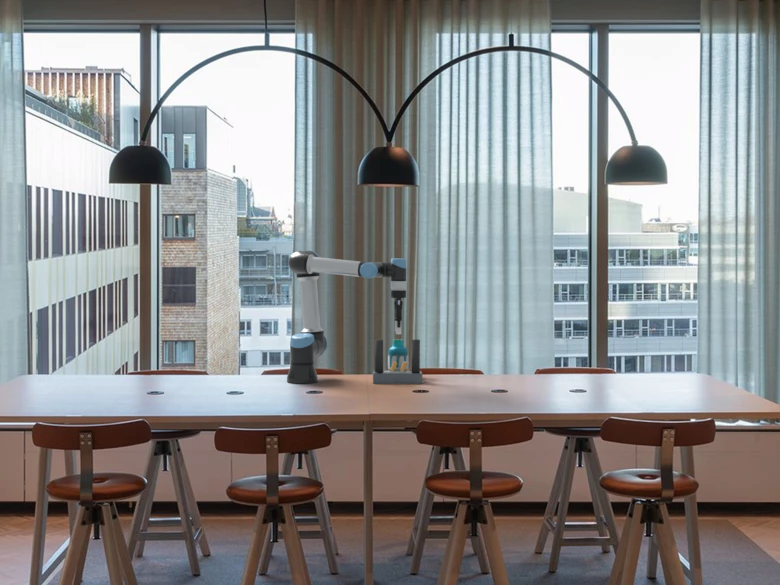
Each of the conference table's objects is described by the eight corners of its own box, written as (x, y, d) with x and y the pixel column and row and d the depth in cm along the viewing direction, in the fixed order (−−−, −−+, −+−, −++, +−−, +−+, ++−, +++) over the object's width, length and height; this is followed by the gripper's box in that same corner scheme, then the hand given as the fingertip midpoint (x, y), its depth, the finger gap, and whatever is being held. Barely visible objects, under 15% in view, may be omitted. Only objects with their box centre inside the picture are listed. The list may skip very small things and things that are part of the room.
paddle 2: (400, 369, 466) (404, 361, 466) (400, 369, 469) (404, 361, 469) (403, 371, 466) (407, 363, 466) (403, 370, 469) (407, 362, 469)
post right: (411, 372, 466) (411, 340, 465) (411, 371, 470) (411, 339, 469) (419, 372, 466) (420, 340, 465) (419, 371, 470) (419, 339, 469)
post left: (375, 372, 465) (375, 340, 464) (375, 371, 469) (374, 339, 468) (383, 372, 465) (383, 340, 465) (383, 371, 469) (383, 339, 469)
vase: (384, 376, 490) (384, 339, 489) (402, 374, 495) (403, 338, 494) (393, 378, 481) (393, 341, 480) (411, 377, 485) (412, 340, 484)
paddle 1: (390, 370, 466) (394, 361, 466) (390, 369, 469) (394, 361, 469) (393, 371, 466) (397, 363, 466) (393, 370, 469) (397, 362, 469)
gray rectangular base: (373, 383, 462) (373, 372, 462) (372, 380, 472) (373, 370, 472) (422, 383, 463) (422, 372, 463) (421, 380, 473) (421, 370, 473)
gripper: (407, 291, 453) (406, 335, 454) (405, 288, 478) (404, 330, 479) (391, 291, 453) (391, 335, 454) (390, 288, 478) (389, 330, 479)
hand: (398, 332), depth 466 cm, fingers open, 13 cm apart
